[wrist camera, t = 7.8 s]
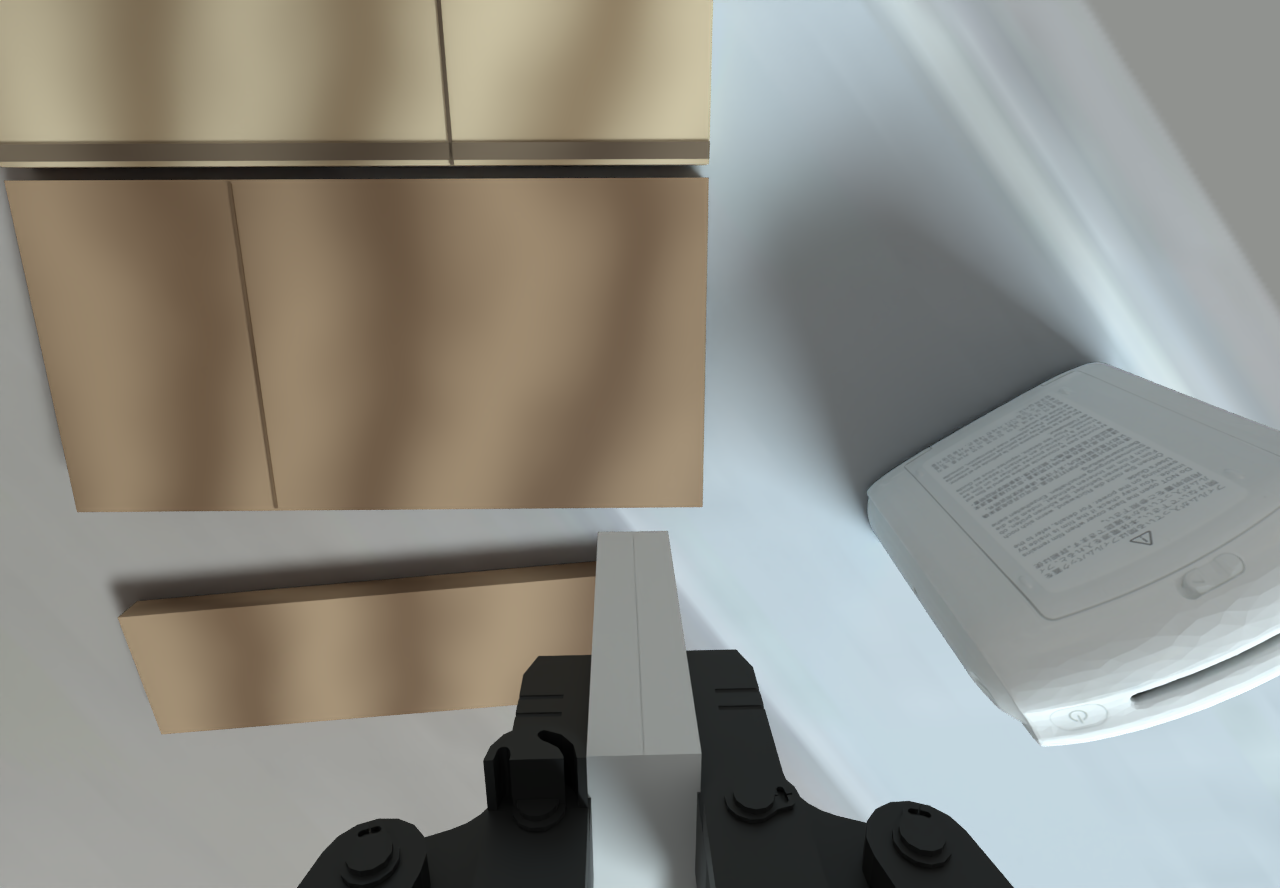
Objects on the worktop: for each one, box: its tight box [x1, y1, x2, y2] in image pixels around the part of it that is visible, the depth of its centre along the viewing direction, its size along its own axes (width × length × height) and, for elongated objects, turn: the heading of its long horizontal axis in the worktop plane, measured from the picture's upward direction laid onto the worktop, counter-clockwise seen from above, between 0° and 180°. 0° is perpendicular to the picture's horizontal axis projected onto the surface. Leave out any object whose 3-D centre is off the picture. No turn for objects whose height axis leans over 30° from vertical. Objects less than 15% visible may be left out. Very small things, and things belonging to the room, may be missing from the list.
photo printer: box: [867, 362, 1280, 746], centre depth 22 cm, size 10×4×12 cm, turn 123°
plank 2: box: [118, 561, 596, 734], centre depth 29 cm, size 20×6×1 cm, turn 95°
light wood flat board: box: [0, 0, 713, 168], centre depth 22 cm, size 22×9×1 cm, turn 90°
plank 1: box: [4, 178, 709, 512], centre depth 25 cm, size 22×11×1 cm, turn 90°
